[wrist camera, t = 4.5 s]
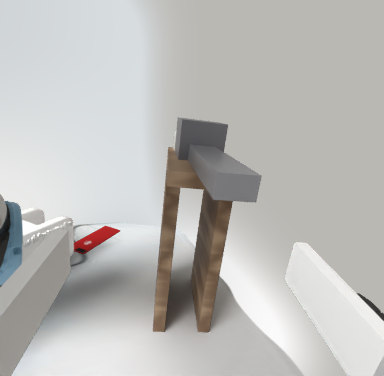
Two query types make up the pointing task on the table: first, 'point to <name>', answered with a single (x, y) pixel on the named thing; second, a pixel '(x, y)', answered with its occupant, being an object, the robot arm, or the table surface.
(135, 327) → the table surface
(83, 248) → the electronic device
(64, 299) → the table surface
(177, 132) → the grey t-shaped block
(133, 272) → the table surface
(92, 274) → the table surface
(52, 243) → the robot arm
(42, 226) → the cable organizer
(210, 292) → the shelf
